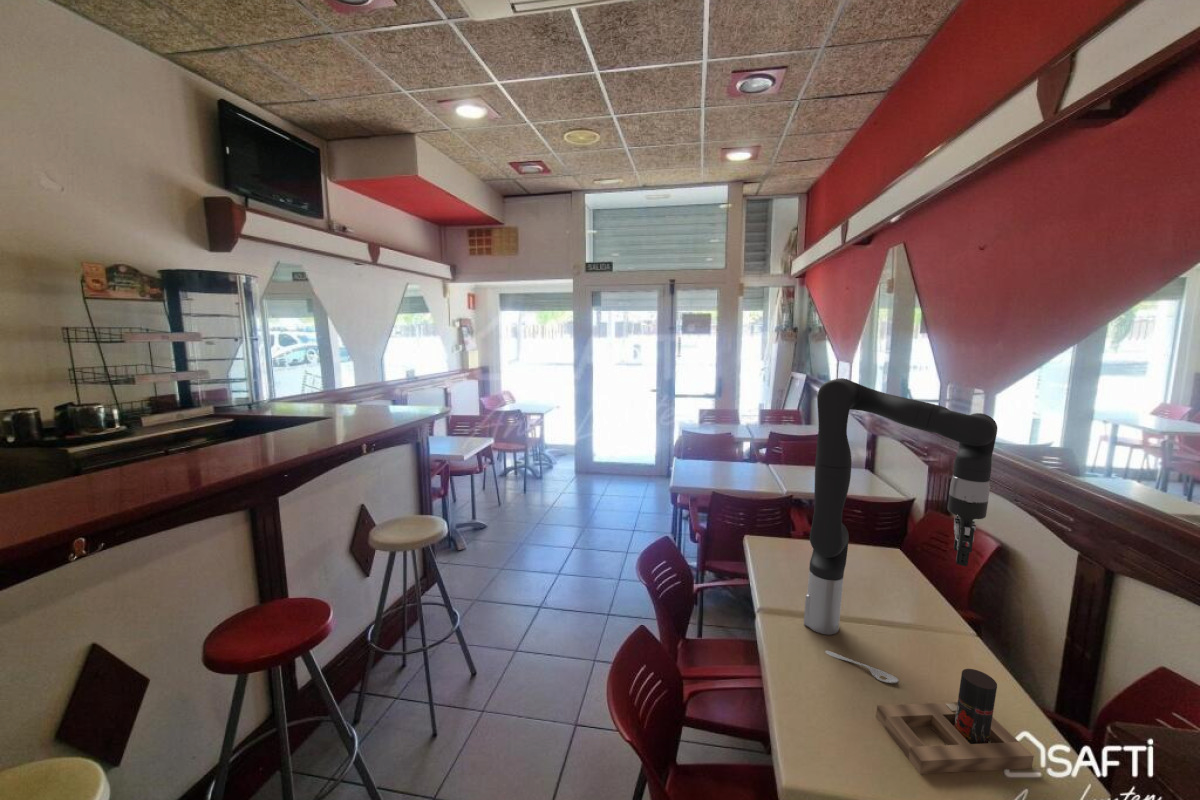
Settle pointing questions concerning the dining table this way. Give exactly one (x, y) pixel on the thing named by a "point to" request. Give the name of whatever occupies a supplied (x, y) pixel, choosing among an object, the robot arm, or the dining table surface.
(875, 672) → the spoon
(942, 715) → the wooden frame
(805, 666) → the dining table surface
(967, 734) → the deodorant
